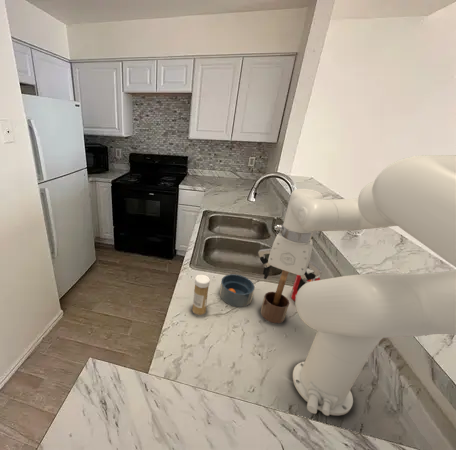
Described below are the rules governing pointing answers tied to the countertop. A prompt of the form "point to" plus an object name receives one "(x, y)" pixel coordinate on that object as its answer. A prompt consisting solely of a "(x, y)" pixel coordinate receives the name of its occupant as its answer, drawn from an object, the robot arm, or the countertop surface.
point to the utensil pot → (274, 308)
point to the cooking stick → (280, 288)
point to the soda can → (297, 280)
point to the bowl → (241, 287)
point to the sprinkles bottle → (200, 294)
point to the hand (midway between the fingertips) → (282, 282)
